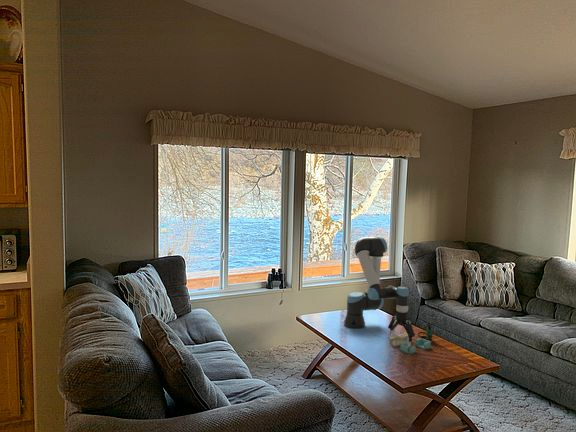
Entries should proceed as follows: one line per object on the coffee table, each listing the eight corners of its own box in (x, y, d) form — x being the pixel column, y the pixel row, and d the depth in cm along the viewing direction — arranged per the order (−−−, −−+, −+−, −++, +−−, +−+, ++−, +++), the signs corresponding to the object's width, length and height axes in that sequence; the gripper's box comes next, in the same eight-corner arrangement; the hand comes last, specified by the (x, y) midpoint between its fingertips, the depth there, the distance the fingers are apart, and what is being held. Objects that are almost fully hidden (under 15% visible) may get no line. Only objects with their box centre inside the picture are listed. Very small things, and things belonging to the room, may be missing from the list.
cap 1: (399, 350, 270) (399, 344, 270) (405, 348, 273) (405, 342, 273) (409, 354, 264) (409, 348, 263) (415, 352, 267) (415, 346, 266)
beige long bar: (389, 345, 279) (390, 337, 279) (405, 340, 289) (406, 332, 288) (394, 347, 276) (395, 339, 276) (410, 341, 286) (411, 334, 285)
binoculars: (416, 323, 293) (432, 322, 291) (417, 338, 294) (433, 338, 292) (417, 327, 285) (433, 327, 283) (418, 343, 285) (434, 343, 283)
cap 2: (430, 347, 275) (431, 341, 275) (425, 349, 272) (425, 343, 272) (421, 344, 281) (421, 338, 281) (415, 345, 278) (415, 339, 278)
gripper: (383, 307, 289) (382, 338, 290) (413, 317, 268) (412, 350, 270) (391, 305, 293) (390, 336, 295) (421, 315, 272) (420, 348, 274)
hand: (400, 343), depth 282 cm, fingers open, 13 cm apart
